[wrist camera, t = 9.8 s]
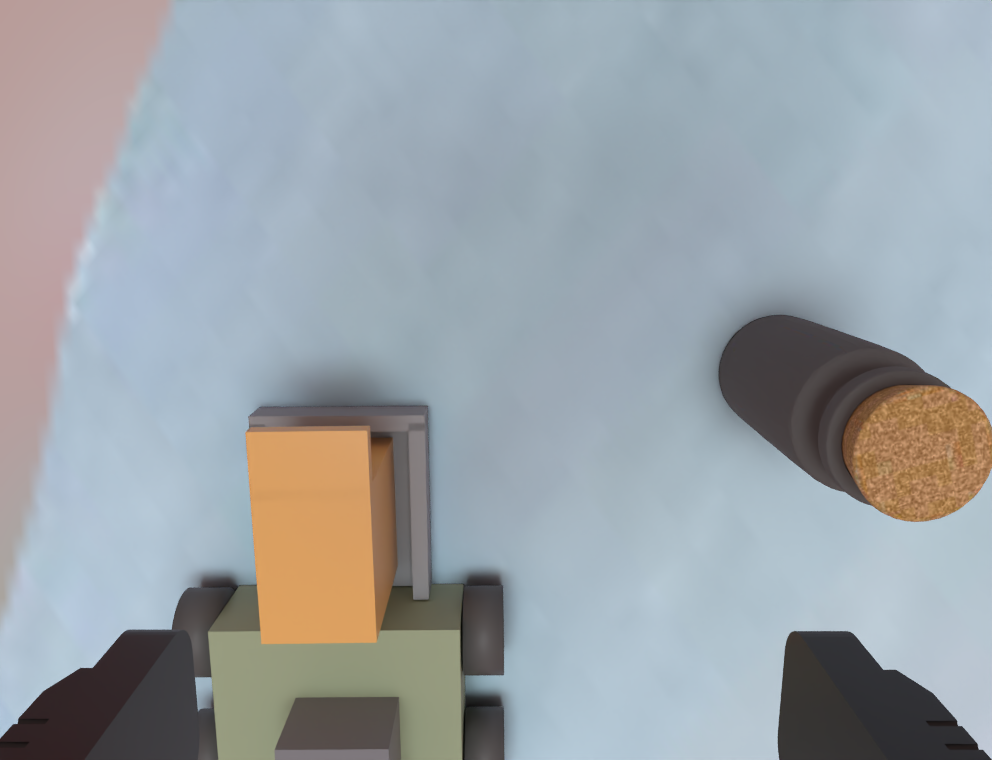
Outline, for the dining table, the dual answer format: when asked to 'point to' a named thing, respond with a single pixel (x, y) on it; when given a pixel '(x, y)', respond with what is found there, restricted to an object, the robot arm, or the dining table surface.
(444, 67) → the dining table surface
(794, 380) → the bottle
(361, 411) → the green boxy vehicle
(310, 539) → the orange box
